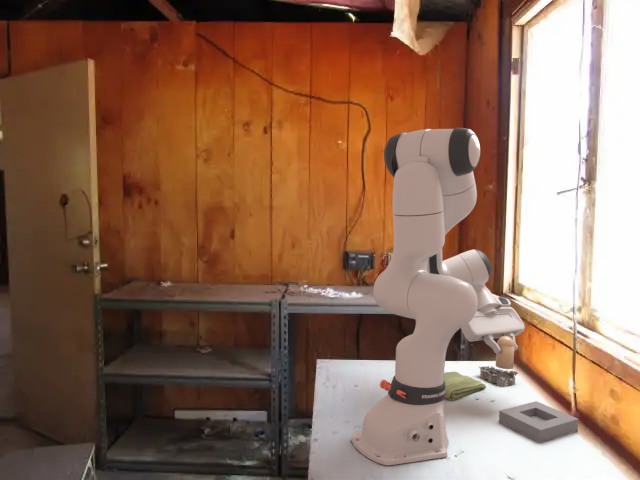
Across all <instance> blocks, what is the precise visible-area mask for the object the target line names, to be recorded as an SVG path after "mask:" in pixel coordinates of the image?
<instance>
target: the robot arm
mask: <svg viewBox="0 0 640 480" xmlns="http://www.w3.org/2000/svg"><path fill="white" fill-rule="evenodd" d="M480 159H481V146H480V140H479V137H478V136H477V134H476V133H475V132H474V131H473V130H472V129H470V128H466V127H465V128H464V127H455V128H435V129H432V128H426V129H425V128H424V129H419V130H414V131H410V132H400V133H396V134H395V135H392V136H390V137H389V139H388V140H387V142H386V144H385V146H384V149H383V161H384V165H385V167H386V169H387V171H388V173H389V174H390V175H391V176H392V177H393V178H394V179H393V187H392V221H393V222H392V225H393V250H392V255H391V258H390V261H389V263H388V266H386V268H384V270H383V271H382V272H381V273H380V274H378V276H377V277H376V279H375V281H374V285H373V299H374V301H375V303H376V305H378V306H379V307H380V308H382V309H383V310H385V311H386V312H389V313H391V314H393V315H395V316H399V317H404V318H408V319H413V320H415V325H414V327H415V328H414V331H413V333H412V334H409V335H407V336H405V337H403V338H402V339H401V340H400V341H399V342H398V343H397V345H396V347H395V362H394V363H395V365H394V367H395V368H394V369H395V370H394V376H393V378H392V380H391V382H390V381H387V380H386V379H382V380H380V382H379V387H380V388H381V389H383V390H384V391H387V394H386V395H385V396H384V397H383V398H382V399H380V400H379V401H378V402H377V404H375V406H373V407H372V408H371V409H370V410H369V411H367V413H366V414H365V415H364V419H363V421H362V427H361V428H362V429H361V430H360V431H356V432H355V433H353V434H351V443H352V445H353V447H355V449H357V451H359V452H360V453H361V454H362V455H363V456H365V457H366V458H368V459H370V460H371V461H373V462H374V463H377V464H380V465H384V466H393V465H400V464H407V463H414V462H415V463H416V462H419V461H420V462H421V461H422V462H423V461H427V460H434V459H441V458H446V457H448V449H447V447H448V446H449V439H448V435H447V430H446V423H445V422H446V421H445V411H444V410H445V409H444V400H445V399H446V398H445V392H446V391H445V381H444V373H445V367H446V356H447V349H448V347H449V344H450V341H451V339H452V338H453V337H454V336H455V334H456V333H457V332H458V331H459V330H460V329H461V332H462V335H463V336H464V338H465V340H467V341H468V342H476V341H477V342H478V341H484V343H485V345H487V346H489V348H491V349H492V350H493V353H495V354H496V353H500V352H502V351H503V348H502V347H501V345H500V344H497V342H496V341H495V340H494V339H499V338H500V337H502V336H508V337H510V338H511V339H512V340H513V341H514V344H515V346H514V352H515V351H516V350H518V349H519V346H518V345H517V343H516V336H519V335H520V334H522V333H523V332H524V331H525V323H524V322H523V320H522V318H521V317H520V315H519V314H518V313H517V311H516V310H515V308H513V307H512V303H511V301H510V299H508V298H506V297H503V296H499V295H496V294H494V293H492V292H491V290H490V289H489V288H488V287H487V285H486V283H488V282H489V280H490V278H491V276H492V273H493V271H494V270H493V265H492V262H491V261H490V259H489V258H488V257H487V255H486V253H484V252H482V251H480V249H475V248H474V249H470V250H467V251H464V252H461V253H459V254H457V255H454V256H452V257H449V258H447V259H444V260H443V248H444V245H445V242H446V237H445V236H446V235H447V234H448V233H449V232H450V230H452V229H453V228H454V227H455V226H456V225H457V224H459V223H460V222H461V221H463V220H464V219H465V218H467V216H468V215H470V213H471V212H472V211H473V210H474V208H475V206H476V203H477V199H478V193H477V192H478V190H477V184H476V179H475V175H474V170H475V169H476V168H477V167H478V165H479V162H480Z"/></svg>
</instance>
